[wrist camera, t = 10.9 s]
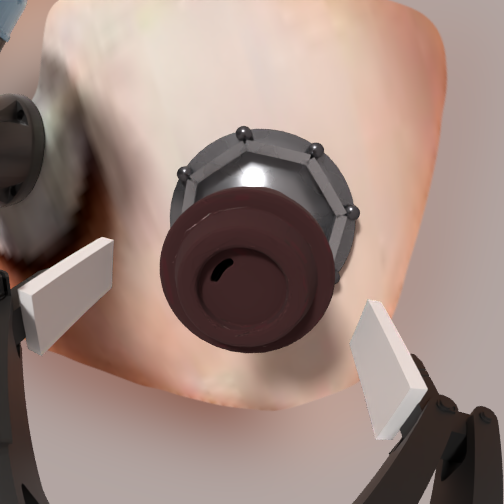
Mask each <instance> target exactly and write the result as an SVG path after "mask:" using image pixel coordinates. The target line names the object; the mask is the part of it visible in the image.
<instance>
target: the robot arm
mask: <svg viewBox="0 0 504 504" xmlns="http://www.w3.org/2000/svg"><path fill="white" fill-rule="evenodd" d="M26 4H27V0H0V52H1V50H2V48H3V46H4V44H5V43H6V42H8V41H9V39H10V34H11V32H12V30H13V28H14V26H15V25H16V23H17V21H18V19H19V17H20V16H21V14H22V13H23V11H24V9H25V7H26ZM43 153H44V131H43V124H42V120H41V117H40V114H39V111H38V109H37V107H36V106H35V104H34V103H33V102H32V101H31V100H30V99H29V98H28V97H25V96H24V95H19V94H3V95H0V207H5V206H9V205H12V204H15V203H18V202H20V201H21V200H23V199H24V198H25V197H26V196H27V195H28V194H29V193H30V191H31V190H32V188H33V187H34V185H35V183H36V181H37V178H38V176H39V173H40V169H41V165H42V160H43ZM113 247H114V240H112V239H108V238H104V237H101V238H99V239H97V240H95V241H94V242H92V243H90V244H89V245H87V246H85V247H83V248H82V249H80V250H78V251H77V252H75V253H74V254H72V255H70V256H69V257H67V258H65V259H64V260H62V261H60V262H59V263H57V264H56V265H54V266H53V267H51V268H47V269H44V270H41V271H38V272H37V273H35V274H33V275H32V277H29V278H27V279H26V281H25V280H24V281H23V282H21V283H20V284H18V285H17V286H15V287H13V288H12V289H10V283H9V275H8V273H7V272H6V271H3V270H0V504H49V502H48V500H47V498H46V496H45V494H44V491H43V489H42V486H41V482H40V478H39V474H38V470H37V465H36V461H35V456H34V452H33V447H32V442H31V436H30V430H29V424H28V417H27V409H26V401H25V392H24V380H23V367H22V366H23V365H22V348H21V343H20V342H21V341H22V340H23V339H24V338H26V341H27V346H28V349H29V350H31V351H33V352H35V353H37V354H39V355H41V356H42V355H43V354H44V353H45V352H46V351H47V350H48V349H49V348H50V347H51V346H52V345H53V344H54V343H55V342H56V341H57V340H58V339H59V338H60V337H61V336H62V335H63V334H64V333H65V332H66V331H67V330H68V329H69V328H70V327H71V326H72V325H73V324H74V323H75V322H76V321H77V320H78V319H79V318H80V317H81V316H82V315H83V314H84V313H85V312H86V311H88V310H89V309H90V308H91V307H92V306H93V305H94V304H95V303H96V302H97V301H98V300H99V299H100V298H101V297H102V296H103V295H104V294H106V293H107V292H108V291H109V290H110V289H111V288H112V269H113ZM349 344H350V348H351V351H352V354H353V358H354V361H355V365H356V368H357V372H358V375H359V379H360V382H361V386H362V389H363V393H364V397H365V400H366V404H367V408H368V412H369V416H370V419H371V423H372V427H373V431H374V435H375V439H381V440H382V439H383V440H387V439H388V440H392V439H393V438H394V437H395V436H396V434H397V433H398V432H399V430H400V431H401V434H402V438H401V440H400V441H399V442H398V443H397V444H396V446H395V447H394V448H393V449H392V451H391V452H390V453H389V457H388V458H387V460H386V461H385V462H384V464H383V465H382V466H381V468H380V469H379V471H378V472H377V473H376V475H375V476H374V477H373V479H372V480H371V482H370V483H369V484H368V485H367V486H366V488H365V489H364V490H363V491H362V493H361V494H360V495H359V496H358V498H357V499H356V500H355V501H354V502H353V503H352V504H418V502H419V500H420V499H421V497H422V495H423V493H424V491H425V489H426V487H427V485H428V484H429V482H430V479H431V477H432V475H433V473H434V471H435V469H436V473H435V479H434V485H433V490H432V496H431V501H430V504H503V470H502V455H501V444H500V434H499V425H498V420H497V417H496V415H495V414H494V412H493V411H491V410H490V409H488V408H486V407H483V406H478V407H476V408H475V409H474V410H473V412H472V413H471V414H470V415H469V414H466V413H462V412H458V408H457V405H456V404H455V403H454V402H453V400H451V399H450V398H448V397H446V396H444V395H439V393H438V392H437V389H436V388H435V386H434V384H433V382H432V380H431V378H430V377H429V374H428V372H427V371H425V370H426V369H425V367H424V365H423V363H422V361H420V360H419V359H418V358H417V357H416V356H415V355H414V354H410V353H409V351H408V349H407V348H406V346H405V344H404V342H403V340H402V338H401V337H400V335H399V333H398V331H397V329H396V327H395V326H394V324H393V322H392V320H391V319H390V317H389V315H388V313H387V312H386V310H385V308H384V306H383V305H382V303H381V302H379V301H374V300H369V299H368V300H367V302H366V305H365V307H364V310H363V312H362V315H361V317H360V320H359V322H358V325H357V327H356V329H355V332H354V334H353V336H352V339H351V341H350V343H349Z"/></svg>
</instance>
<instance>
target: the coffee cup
mask: <svg viewBox="0 0 504 504" xmlns="http://www.w3.org/2000/svg"><path fill="white" fill-rule="evenodd" d="M160 278H161V283H162V288H163V292H164V294H165V297H166V299H167V301H168V303H169V305H170V307H171V309H172V311H173V312H174V314H175V315H176V316H177V318H178V319H179V320H180V321H181V322H182V324H183V325H184V326H185V327H187V328H188V329H189V330H190V331H191V332H192V333H193V334H195V335H196V336H198V337H199V338H200V339H202V340H204V341H206V342H208V343H210V344H212V345H214V346H216V347H219V348H222V349H226V350H229V351H234V352H241V353H263V352H268V351H272V350H277V349H280V348H282V347H285V346H288V345H290V344H292V343H293V342H295V341H297V340H299V339H300V338H302V337H303V336H304V335H306V334H307V333H308V332H309V331H311V330H312V329H313V327H314V326H315V325H316V324H317V323H318V322H319V320H320V319H321V318H322V317H323V315H324V313H325V311H326V309H327V308H328V305H329V303H330V301H331V298H332V295H333V290H334V285H335V263H334V258H333V254H332V250H331V248H330V245H329V242H328V240H327V238H326V236H325V234H324V232H323V230H322V228H321V227H320V225H319V224H318V222H317V221H316V220H315V218H314V217H313V216H312V215H311V214H310V213H309V212H308V211H307V210H306V209H305V208H304V207H303V206H301V205H300V204H299V203H297V202H296V201H294V200H293V199H291V198H289V197H288V196H286V195H285V194H283V193H281V192H279V191H277V190H274V189H272V188H267V187H259V186H258V187H251V186H241V187H232V188H227V189H223V190H220V191H217V192H214V193H212V194H210V195H207V196H205V197H204V198H202V199H201V200H199V201H197V202H196V203H194V204H193V205H191V206H190V207H189V208H188V209H186V210H185V211H184V212H183V213H182V214H181V215H180V216H179V217H178V218H177V220H176V221H175V222H174V224H173V225H172V227H171V228H170V230H169V232H168V234H167V236H166V238H165V241H164V244H163V247H162V251H161V257H160Z"/></svg>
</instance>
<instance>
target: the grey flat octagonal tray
mask: <svg viewBox="0 0 504 504" xmlns="http://www.w3.org/2000/svg"><path fill="white" fill-rule="evenodd" d="M177 176H178V178H179V180H178V182H177V185H176V188H175V190H174V193H173V198H172V202H171V210H170V228H171V227H172V225H173V224H174V222H175V221H176V220H177V218H178V217H179V216H180V215H181V214H182V213H183V212H184V211H185V210H186V209H188V208H189V207H190V206H191V205H193V204H194V203H196V202H197V201H199V200H201V199H202V198H204V197H205V196H207V195H210V194H212V193H214V192H217V191H220V190H223V189H227V188H232V187H241V186H251V187H258V186H259V187H267V188H272V189H274V190H277V191H279V192H281V193H283V194H285V195H286V196H288V197H289V198H291V199H293V200H294V201H296V202H297V203H299V204H300V205H301V206H303V207H304V208H305V209H306V210H307V211H308V212H309V213H310V214H311V215H312V216H313V217H314V218H315V220H316V221H317V222H318V224H319V225H320V227H321V228H322V230H323V232H324V234H325V236H326V238H327V240H328V242H329V245H330V248H331V250H332V254H333V258H334V263H335V284H336V283H337V282H338V281H339V280H340V275H339V273H338V272H339V271H340V270H341V268H342V266H343V265H344V263H345V261H346V259H347V257H348V254H349V252H350V249H351V246H352V242H353V238H354V231H355V220H356V219H357V218H358V217H359V215H360V211H359V209H358V208H357V207H356V206H355V205H354V204H353V199H352V196H351V193H350V190H349V187H348V185H347V183H346V181H345V179H344V176H343V175H342V173H341V172H340V170H339V169H338V167H337V166H336V165H335V164H334V162H333V161H332V160H331V159H330V158H329V157H328V156H327V155H326V154H325V153H324V148H323V146H322V145H321V144H319V143H310V142H308V141H307V140H305V139H303V138H300V137H298V136H296V135H293V134H290V133H287V132H283V131H278V130H271V129H252V130H250V128H248V127H246V126H241V127H239V128H238V129H237V131H236V133H232V134H229V135H227V136H225V137H222V138H220V139H218V140H216V141H215V142H213V143H211V144H210V145H208V146H207V147H205V148H204V149H203V150H202V151H200V152H199V153H198V154H197V155H196V156H195V157H194V158H193V159H192V160H191V161H190V163H189V164H188V166H185V167H181V168H180V169H179V170H178V172H177Z"/></svg>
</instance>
